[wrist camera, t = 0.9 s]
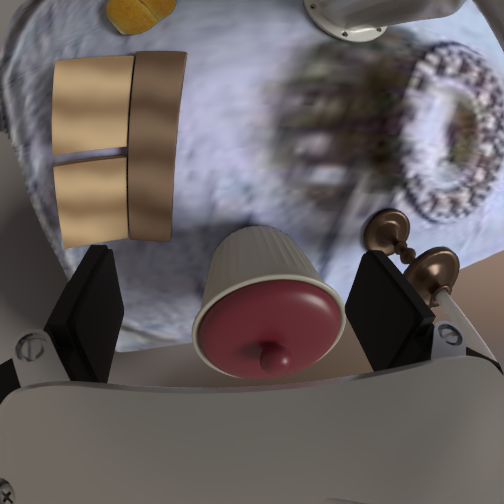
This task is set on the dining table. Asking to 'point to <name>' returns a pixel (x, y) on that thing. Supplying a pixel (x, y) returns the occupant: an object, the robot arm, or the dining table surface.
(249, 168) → the dining table surface
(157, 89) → the walnut floor strip
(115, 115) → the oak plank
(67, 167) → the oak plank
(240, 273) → the canister
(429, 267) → the candlestick
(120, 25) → the bread roll
